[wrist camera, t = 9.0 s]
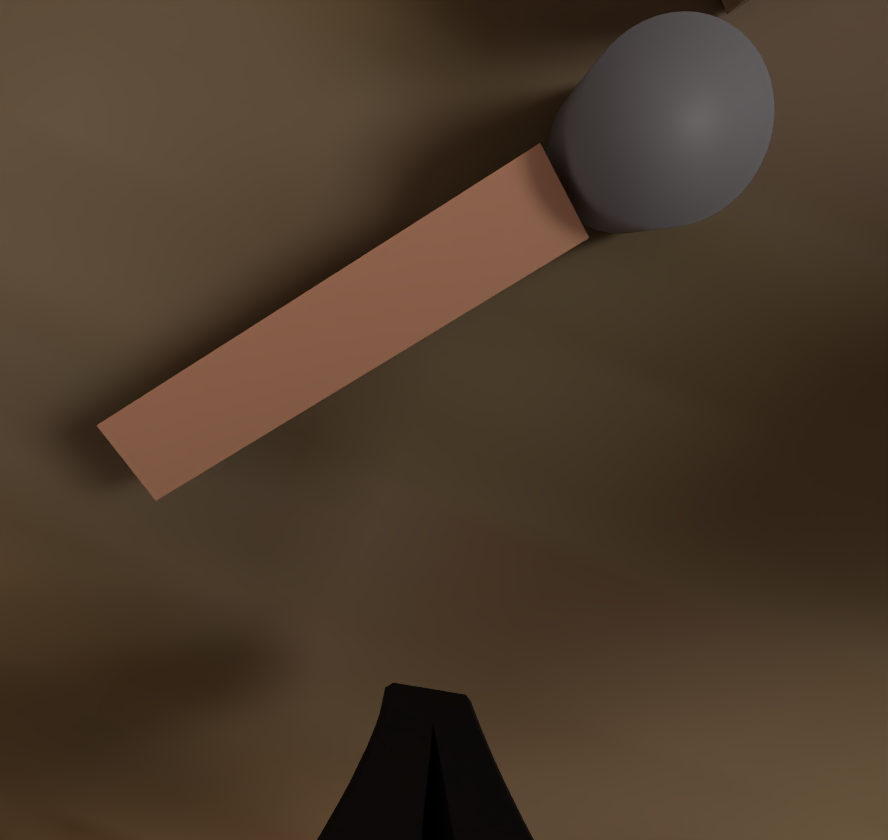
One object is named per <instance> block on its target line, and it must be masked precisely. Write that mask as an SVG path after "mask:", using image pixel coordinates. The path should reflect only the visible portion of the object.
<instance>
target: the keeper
mask: <svg viewBox="0 0 888 840" xmlns="http://www.w3.org/2000/svg"><path fill="white" fill-rule="evenodd" d="M774 109H775V108H774V94H773V88H772V83H771V79H770V76H769V73H768V70H767V67H766V65H765V63H764V61H763V59H762V57H761V55H760V54H759V52H758V51H757V49H756V48H755V46H754V45H753V44H752V42H751V41H750V40H749V39H748V38H747V37H746V36H745V35H744V34H743V33H742V32H740V31H739V30H738V29H737V28H736V27H734V26H733V25H731V24H729V23H728V22H726V21H724V20H722V19H720V18H717V17H715V16H712V15H709V14H704V13H699V12H689V11H680V12H670V13H666V14H661V15H657V16H654V17H652V18H649V19H647V20H644V21H642V22H641V23H639V24H637V25H635V26H633V27H632V28H630V29H629V30H627V31H626V32H625V33H623V34H622V35H621V36H619V37H618V38H617V39H616V40H615V41H614V42H613V43H612V44H611V45H610V46H609V47H608V48H607V50H606V51H605V52H604V53H603V54H602V56H601V57H600V58H599V59H598V61H597V62H596V63H595V64H594V65H593V67H592V68H591V69H590V70H589V72H588V73H587V74H586V75H585V76H584V78H583V79H582V80H581V81H580V82H579V84H578V85H577V86H576V87H575V89H574V90H573V91H572V92H571V93H570V95H569V96H568V97H567V98H566V100H565V101H564V102H563V104H562V105H561V107H560V108H559V110H558V112H557V114H556V116H555V118H554V120H553V123H552V126H551V129H550V132H549V136H548V141H547V150H546V153H545V151H544V149H543V147H542V145H541V143H539V144H538V145H536V146H535V147H533V148H531V149H530V150H528V151H527V152H525V153H524V154H522V155H520V156H519V157H517V158H516V159H514V160H513V161H511V162H509V163H508V164H506V165H505V166H503V167H502V168H500V169H498V170H497V171H495V172H494V173H492V174H491V175H489V176H487V177H486V178H484V179H483V180H481V181H480V182H478V183H476V184H475V185H473V186H472V187H470V188H469V189H467V190H465V191H464V192H462V193H461V194H459V195H458V196H456V197H455V198H453V199H451V200H450V201H448V202H447V203H445V204H444V205H442V206H440V207H439V208H437V209H436V210H434V211H433V212H431V213H429V214H428V215H426V216H425V217H423V218H422V219H420V220H418V221H417V222H415V223H414V224H412V225H411V226H409V227H407V228H406V229H404V230H403V231H401V232H400V233H398V234H396V235H395V236H393V237H392V238H390V239H389V240H387V241H385V242H384V243H382V244H381V245H379V246H378V247H376V248H374V249H373V250H371V251H370V252H368V253H367V254H365V255H363V256H362V257H360V258H359V259H357V260H356V261H354V262H352V263H351V264H349V265H348V266H346V267H345V268H343V269H341V270H340V271H338V272H337V273H335V274H334V275H332V276H330V277H329V278H327V279H326V280H324V281H323V282H321V283H319V284H318V285H316V286H315V287H313V288H312V289H310V290H308V291H307V292H305V293H304V294H302V295H301V296H299V297H297V298H296V299H294V300H293V301H291V302H290V303H288V304H286V305H285V306H283V307H282V308H280V309H279V310H277V311H275V312H274V313H272V314H271V315H269V316H268V317H266V318H264V319H263V320H261V321H260V322H258V323H257V324H255V325H253V326H252V327H250V328H249V329H247V330H246V331H244V332H242V333H241V334H239V335H238V336H236V337H235V338H233V339H231V340H230V341H228V342H227V343H225V344H224V345H222V346H221V347H219V348H217V349H216V350H214V351H213V352H211V353H210V354H208V355H206V356H205V357H203V358H202V359H200V360H199V361H197V362H195V363H194V364H192V365H191V366H189V367H188V368H186V369H184V370H183V371H181V372H180V373H178V374H177V375H175V376H173V377H172V378H170V379H169V380H167V381H166V382H164V383H162V384H161V385H159V386H158V387H156V388H155V389H153V390H151V391H150V392H148V393H147V394H145V395H144V396H142V397H140V398H139V399H137V400H136V401H134V402H133V403H131V404H129V405H128V406H126V407H125V408H123V409H122V410H120V411H118V412H117V413H115V414H114V415H112V416H111V417H109V418H107V419H106V420H104V421H103V422H101V423H100V424H98V425H97V427H98V428H99V429H100V431H101V432H102V433H103V434H104V436H105V437H106V438H107V439H108V441H109V442H110V443H111V445H112V446H113V447H114V448H115V450H116V451H117V452H118V453H119V455H120V456H121V457H122V459H123V460H124V461H125V462H126V464H127V465H128V466H129V467H130V469H131V470H132V471H133V472H134V474H135V475H136V476H137V478H138V479H139V480H140V481H141V483H142V484H143V485H144V486H145V488H146V489H147V490H148V492H149V493H150V494H151V495H152V497H153V498H154V499H155V500H158V499H160V498H161V497H163V496H165V495H166V494H168V493H170V492H171V491H173V490H175V489H176V488H178V487H179V486H181V485H183V484H184V483H186V482H188V481H189V480H191V479H193V478H194V477H196V476H198V475H199V474H201V473H203V472H204V471H206V470H207V469H209V468H211V467H212V466H214V465H216V464H217V463H219V462H221V461H222V460H224V459H226V458H227V457H229V456H231V455H232V454H234V453H236V452H237V451H239V450H240V449H242V448H244V447H245V446H247V445H249V444H250V443H252V442H254V441H255V440H257V439H259V438H260V437H262V436H264V435H265V434H267V433H268V432H270V431H272V430H273V429H275V428H277V427H278V426H280V425H282V424H283V423H285V422H287V421H288V420H290V419H292V418H293V417H295V416H296V415H298V414H300V413H301V412H303V411H305V410H306V409H308V408H310V407H311V406H313V405H315V404H316V403H318V402H320V401H321V400H323V399H324V398H326V397H328V396H329V395H331V394H333V393H334V392H336V391H338V390H339V389H341V388H343V387H344V386H346V385H348V384H349V383H351V382H353V381H354V380H356V379H357V378H359V377H361V376H362V375H364V374H366V373H367V372H369V371H371V370H372V369H374V368H376V367H377V366H379V365H381V364H382V363H384V362H385V361H387V360H389V359H390V358H392V357H394V356H395V355H397V354H399V353H400V352H402V351H404V350H405V349H407V348H409V347H410V346H412V345H413V344H415V343H417V342H418V341H420V340H422V339H423V338H425V337H427V336H428V335H430V334H432V333H433V332H435V331H437V330H438V329H440V328H441V327H443V326H445V325H446V324H448V323H450V322H451V321H453V320H455V319H456V318H458V317H460V316H461V315H463V314H465V313H466V312H468V311H469V310H471V309H473V308H474V307H476V306H478V305H479V304H481V303H483V302H484V301H486V300H488V299H489V298H491V297H493V296H494V295H496V294H498V293H499V292H501V291H502V290H504V289H506V288H507V287H509V286H511V285H512V284H514V283H516V282H517V281H519V280H521V279H522V278H524V277H526V276H527V275H529V274H530V273H532V272H534V271H535V270H537V269H539V268H540V267H542V266H544V265H545V264H547V263H549V262H550V261H552V260H554V259H555V258H557V257H558V256H560V255H562V254H563V253H565V252H567V251H568V250H570V249H572V248H573V247H575V246H577V245H578V244H580V243H582V242H583V241H585V240H586V239H588V238H589V237H588V235H587V233H586V231H585V229H584V227H583V225H582V224H584V225H585V226H587V227H589V228H592V229H595V230H598V231H601V232H606V233H618V234H620V233H630V232H639V231H648V230H656V229H665V228H673V227H681V226H685V225H690V224H693V223H696V222H699V221H702V220H704V219H706V218H708V217H710V216H712V215H714V214H716V213H717V212H719V211H720V210H722V209H723V208H725V207H726V206H728V205H729V204H730V203H731V202H732V201H733V200H734V199H736V198H737V197H738V196H739V195H740V194H741V192H742V191H743V190H744V189H745V188H746V187H747V186H748V184H749V183H750V181H751V180H752V179H753V177H754V176H755V174H756V173H757V171H758V169H759V167H760V165H761V164H762V161H763V159H764V157H765V154H766V152H767V149H768V146H769V143H770V139H771V135H772V130H773V124H774Z"/></svg>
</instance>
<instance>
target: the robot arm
mask: <svg viewBox="0 0 888 840" xmlns="http://www.w3.org/2000/svg"><path fill="white" fill-rule="evenodd" d="M317 840H534V839H533V837H532V836H531V834H530V832H529V830H528V828H527V826H526V824H525V822H524V820H523V818H522V816H521V814H520V812H519V810H518V808H517V806H516V804H515V802H514V800H513V798H512V796H511V794H510V792H509V790H508V788H507V786H506V784H505V782H504V780H503V778H502V775H501V773H500V771H499V769H498V767H497V764H496V762H495V760H494V758H493V755H492V753H491V751H490V748H489V746H488V744H487V741H486V739H485V737H484V734H483V732H482V729H481V727H480V724H479V722H478V719H477V717H476V714H475V711H474V709H473V706H472V703H471V701H470V700H469V698H468V697H467V695H464V694H458V693H452V692H446V691H440V690H434V689H428V688H422V687H416V686H410V685H404V684H398V683H392V684H391V685H389V686H387V687H385V691H384V696H383V701H382V705H381V710H380V715H379V718H378V720H377V723H376V726H375V728H374V731H373V733H372V736H371V738H370V741H369V743H368V746H367V748H366V750H365V752H364V754H363V756H362V758H361V760H360V762H359V764H358V766H357V768H356V771H355V773H354V775H353V777H352V779H351V781H350V783H349V785H348V787H347V789H346V790H345V792H344V794H343V796H342V798H341V799H340V801H339V803H338V805H337V806H336V808H335V810H334V812H333V813H332V815H331V817H330V819H329V820H328V822H327V824H326V826H325V827H324V829H323V831H322V833H321V834H320V836H319V838H318V839H317Z"/></svg>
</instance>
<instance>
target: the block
mask: <svg viewBox="0 0 888 840" xmlns="http://www.w3.org/2000/svg"><path fill="white" fill-rule="evenodd" d="M747 1H749V0H722V3H723V5H724V8H725V10H726V12H727V14H728V13H730V12H731V11H733V10H734V9H736V8H738V7H739V6H741V5H742V4H744V3H745V2H747Z"/></svg>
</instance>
